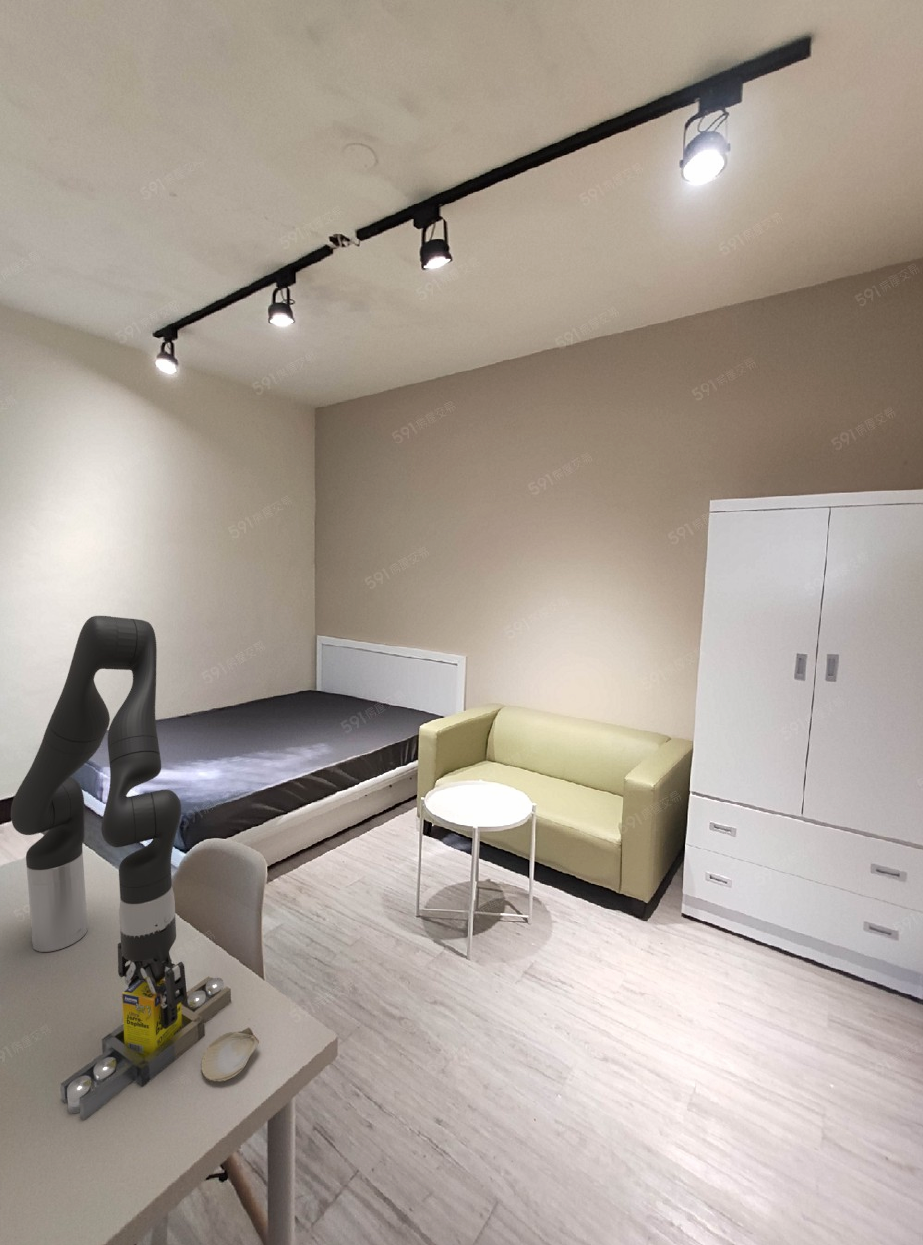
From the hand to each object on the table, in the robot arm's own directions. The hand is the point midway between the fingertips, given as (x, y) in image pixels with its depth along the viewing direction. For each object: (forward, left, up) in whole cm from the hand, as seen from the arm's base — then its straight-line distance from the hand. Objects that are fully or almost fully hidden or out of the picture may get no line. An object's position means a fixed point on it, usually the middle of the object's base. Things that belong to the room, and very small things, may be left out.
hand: (153, 1013), depth 88 cm
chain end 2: (0, +6, -6) cm, 8 cm away
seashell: (+13, +4, -6) cm, 15 cm away
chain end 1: (0, -6, -6) cm, 8 cm away
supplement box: (0, 0, -6) cm, 6 cm away
